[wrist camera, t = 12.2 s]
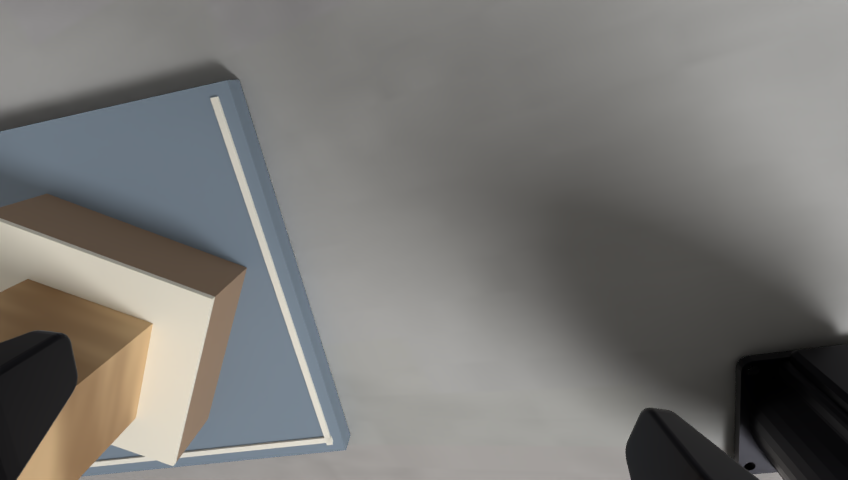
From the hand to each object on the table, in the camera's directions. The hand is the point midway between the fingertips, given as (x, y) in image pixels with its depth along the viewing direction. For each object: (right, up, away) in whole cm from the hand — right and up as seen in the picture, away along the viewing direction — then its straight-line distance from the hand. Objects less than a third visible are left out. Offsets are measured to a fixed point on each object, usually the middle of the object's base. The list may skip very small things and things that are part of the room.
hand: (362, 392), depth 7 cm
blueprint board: (-13, -1, +15) cm, 20 cm away
